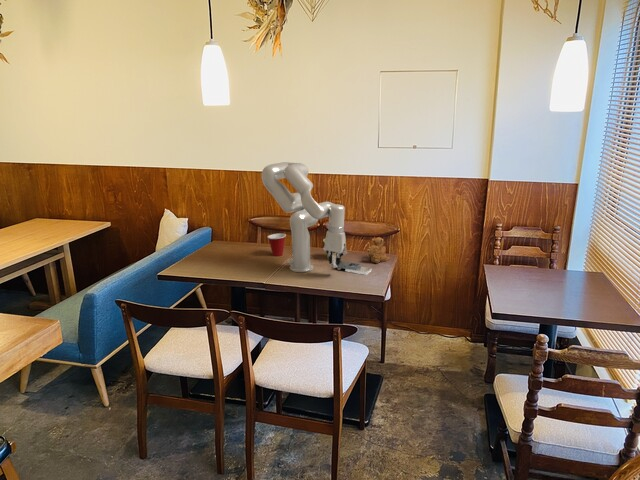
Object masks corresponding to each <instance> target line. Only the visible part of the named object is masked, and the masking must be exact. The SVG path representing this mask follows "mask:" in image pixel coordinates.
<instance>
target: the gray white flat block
mask: <svg viewBox="0 0 640 480" xmlns="http://www.w3.org/2000/svg"><path fill="white" fill-rule="evenodd" d="M342 269H345V270H344V271H345V272H346V273H347V272H348V273H352V274H358V275H364V276H367V275H368V274H369V273H371V272H372V269H373V268H371V267H365V266H362V264H361V263H358V262H351V261H344V260H341V262H340V264H339V265H338V267H337V270H338V271H340V270H342Z"/></svg>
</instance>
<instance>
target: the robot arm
mask: <svg viewBox="0 0 640 480" xmlns="http://www.w3.org/2000/svg"><path fill="white" fill-rule="evenodd" d="M308 175H309V168H308V167H307V166H306V164H305V163H302V162H290V161H289V162H277V163H272V164H268V165H266V166H264V168H263V169H262V171H261V181H262V184H263V186H264V187H265V190H267V191H268V192H269V193H270V195H272V198H274V199H275V202H277V204H278V205H279V206H280V208H281V209H282V211H284V212H285V213H286V214H289V213H292V214H291V215H290V217H289V226H290V233H291V249H292V252H291V253H292V255H291V256H292V257H291V258H287V259H286V264H290V266H289V270H290V271H292V272H294V273H295V272H296V273H307V272H310V271H312V270H314V265H313V264H311V236H310V232H309V230H308V228H309V227H312V226H314V225H315V224H317V223H318V221H319V220H322V219H325V218H328V225H326V228H327V229H328V230H327V231H326V235H325V238H324V239H325V243H324V246H323V248H322V249H323V251H324V252H327V253H326V255H327V254H328V256H329V260H328V263H329V265H331V262H332V252H336V253H337V258H336V265H339V264H340V262H341V261H342V260H341V259H342V258H341V257H343V256H345V255H346V254H348V251H347V248H346V247H347V246H346V245H347V242H346V241H347V240H346V232H345V212H346V207H345V206H344V205H343V204H338V203H337V204H335V203H334V202H330V201H323V202H319V203H318V202H317V201H316V200H315V199H314V198H313V196H312V193H311V191H312V189H313V188H314V183H313V182H312V181H311V180H310V179H309V178H308ZM282 179H286V180H287V181H288V183H290V185H291V186H292V187H293V188H294V190H296V192H293V193H292V192H290V190H289V189H288V188H287V187H286V185H285V184H283V183H282V182H281V181H279V180H282Z"/></svg>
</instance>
